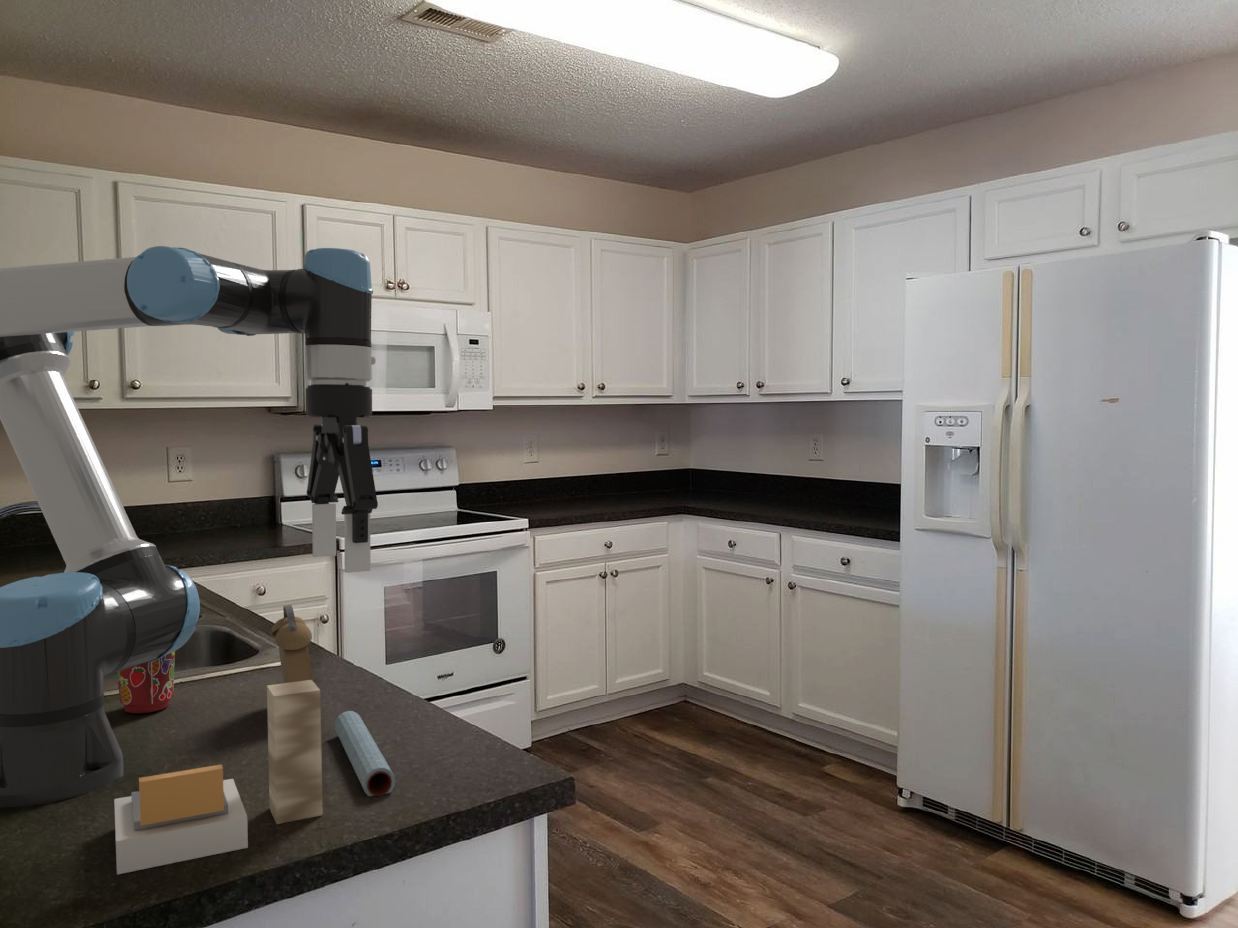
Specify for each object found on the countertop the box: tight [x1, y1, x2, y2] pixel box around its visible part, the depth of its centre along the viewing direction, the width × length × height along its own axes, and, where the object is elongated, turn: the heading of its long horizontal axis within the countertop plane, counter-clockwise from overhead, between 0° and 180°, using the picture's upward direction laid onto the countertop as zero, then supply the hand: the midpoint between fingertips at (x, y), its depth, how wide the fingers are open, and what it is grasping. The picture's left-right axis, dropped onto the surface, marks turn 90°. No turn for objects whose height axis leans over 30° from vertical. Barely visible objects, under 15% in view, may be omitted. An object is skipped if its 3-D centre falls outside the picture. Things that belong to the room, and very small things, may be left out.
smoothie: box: [117, 651, 176, 714], centre depth 134 cm, size 8×8×20 cm
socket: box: [114, 778, 249, 875], centre depth 92 cm, size 11×11×3 cm
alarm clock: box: [271, 604, 314, 683], centre depth 133 cm, size 11×5×15 cm, turn 25°
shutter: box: [131, 764, 228, 831], centre depth 92 cm, size 8×9×5 cm
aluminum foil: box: [334, 710, 396, 797], centre depth 114 cm, size 23×7×3 cm, turn 24°
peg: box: [266, 680, 324, 825], centre depth 98 cm, size 4×4×13 cm
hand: (340, 563), depth 113 cm, fingers open, 13 cm apart
